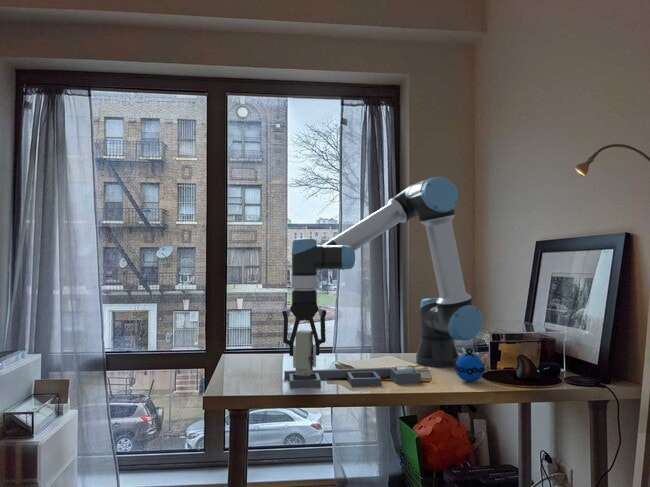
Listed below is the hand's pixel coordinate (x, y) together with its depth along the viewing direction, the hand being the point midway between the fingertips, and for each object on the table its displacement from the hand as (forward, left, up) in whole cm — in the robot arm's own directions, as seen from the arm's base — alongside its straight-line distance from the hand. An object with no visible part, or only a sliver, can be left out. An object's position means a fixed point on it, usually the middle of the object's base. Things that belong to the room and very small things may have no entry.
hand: (304, 366), depth 147 cm
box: (0, 0, -2) cm, 2 cm away
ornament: (-50, +4, -5) cm, 51 cm away
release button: (-31, 0, -4) cm, 31 cm away
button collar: (-31, 0, -5) cm, 31 cm away
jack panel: (-13, -1, -5) cm, 14 cm away
